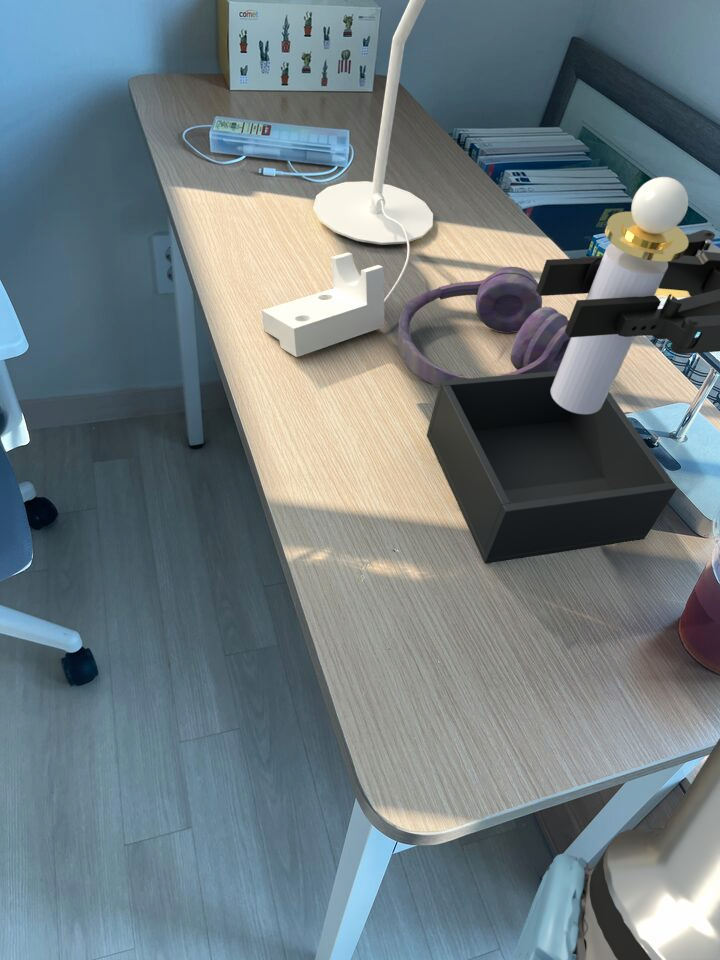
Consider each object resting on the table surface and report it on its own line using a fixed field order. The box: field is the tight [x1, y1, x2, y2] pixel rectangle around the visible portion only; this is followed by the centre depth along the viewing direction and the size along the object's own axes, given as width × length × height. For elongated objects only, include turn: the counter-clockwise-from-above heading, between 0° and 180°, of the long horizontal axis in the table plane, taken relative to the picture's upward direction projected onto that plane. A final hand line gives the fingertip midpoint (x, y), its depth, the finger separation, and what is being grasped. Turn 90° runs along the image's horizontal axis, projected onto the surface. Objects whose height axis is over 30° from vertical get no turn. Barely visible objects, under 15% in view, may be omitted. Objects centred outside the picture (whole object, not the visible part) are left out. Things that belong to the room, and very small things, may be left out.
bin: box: [426, 371, 678, 565], centre depth 76 cm, size 18×18×8 cm
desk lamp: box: [312, 0, 434, 304], centre depth 92 cm, size 37×18×45 cm, turn 14°
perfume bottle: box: [551, 176, 689, 414], centre depth 58 cm, size 6×6×20 cm
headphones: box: [398, 266, 570, 387], centre depth 91 cm, size 18×8×20 cm
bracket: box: [261, 251, 385, 358], centre depth 91 cm, size 13×7×8 cm, turn 127°
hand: (558, 298), depth 56 cm, fingers closed on perfume bottle, 4 cm apart
